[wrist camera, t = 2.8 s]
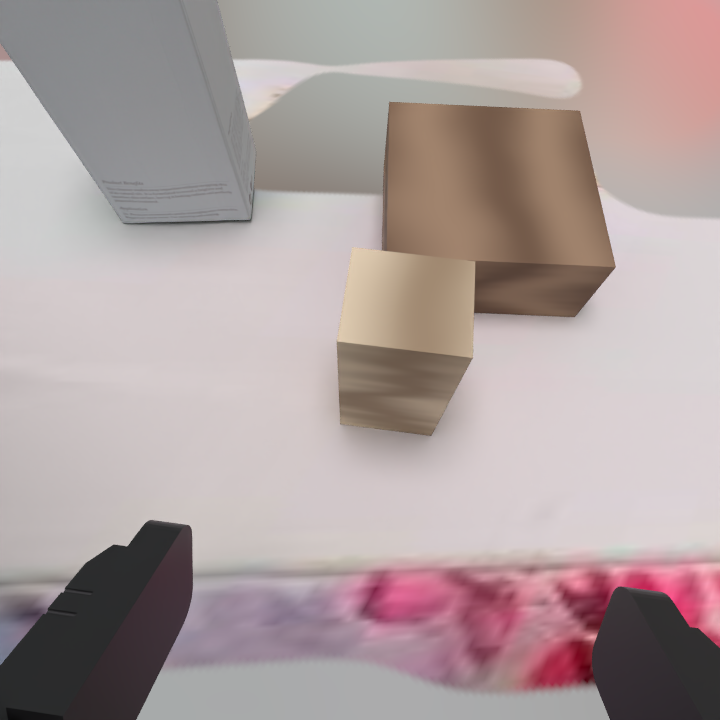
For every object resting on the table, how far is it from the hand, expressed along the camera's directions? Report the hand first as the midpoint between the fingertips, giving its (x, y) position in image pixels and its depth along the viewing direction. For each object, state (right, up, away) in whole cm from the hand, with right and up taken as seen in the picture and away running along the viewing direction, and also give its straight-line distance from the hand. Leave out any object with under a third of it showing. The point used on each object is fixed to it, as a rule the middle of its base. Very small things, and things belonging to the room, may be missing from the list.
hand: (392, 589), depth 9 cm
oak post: (+1, +3, +16) cm, 16 cm away
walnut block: (+6, +12, +21) cm, 25 cm away
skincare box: (-11, +15, +22) cm, 29 cm away
